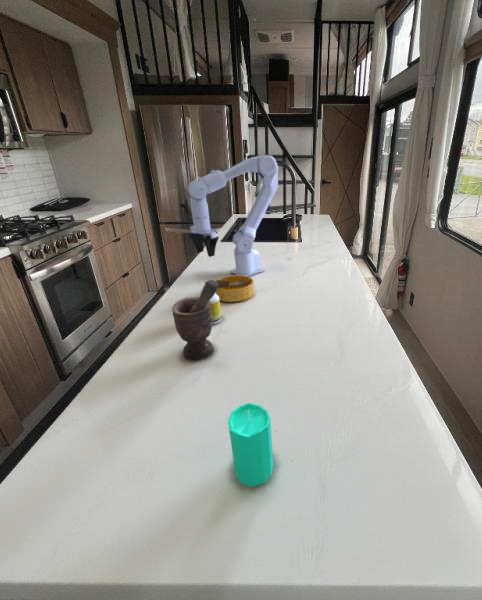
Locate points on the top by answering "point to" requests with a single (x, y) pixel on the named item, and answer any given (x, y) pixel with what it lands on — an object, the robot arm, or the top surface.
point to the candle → (251, 444)
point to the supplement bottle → (215, 309)
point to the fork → (226, 283)
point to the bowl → (236, 289)
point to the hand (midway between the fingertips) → (205, 253)
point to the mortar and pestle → (195, 322)
